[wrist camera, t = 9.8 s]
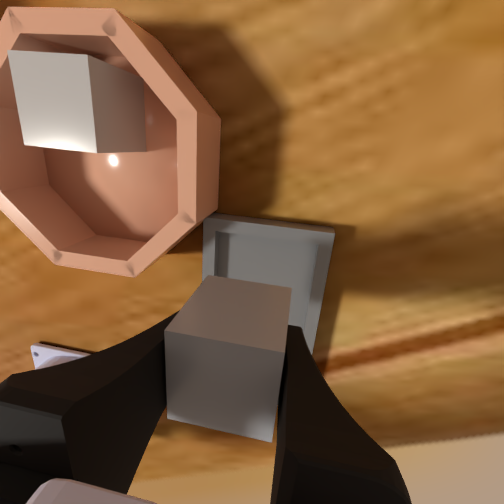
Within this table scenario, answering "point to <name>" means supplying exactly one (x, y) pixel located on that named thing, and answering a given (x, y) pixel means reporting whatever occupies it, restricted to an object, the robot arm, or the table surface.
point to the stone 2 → (228, 356)
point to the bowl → (108, 164)
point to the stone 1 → (78, 103)
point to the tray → (272, 260)
